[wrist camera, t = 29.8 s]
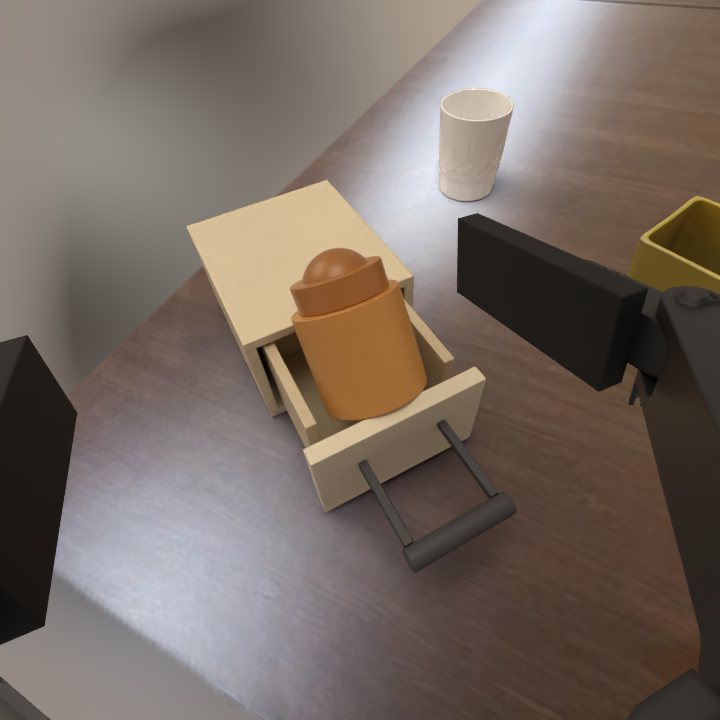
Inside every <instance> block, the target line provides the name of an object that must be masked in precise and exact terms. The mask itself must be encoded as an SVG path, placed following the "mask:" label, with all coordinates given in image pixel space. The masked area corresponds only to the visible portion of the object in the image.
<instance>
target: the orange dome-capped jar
mask: <svg viewBox="0 0 720 720" xmlns="http://www.w3.org/2000/svg"><path fill="white" fill-rule="evenodd" d="M290 291H291V294H292V297H293V299H294V302H295V304H296V307H297V310H298V311H296V312H295V313H294V314H293V315H292V316H291V321H292V324H293V326H294V329H295V331H296V334H297V336H298V339H299V342H300V344H301V347H302V349H303V352H304V355H305V357H306V360H307V362H308V365H309V367H310V370H311V373H312V375H313V378H314V380H315V383H316V385H317V388H318V391H319V393H320V396H321V398H322V401H323V404H324V406H325V409H326V411H327V413H328V414H329V415H330V416H331V417H333V418H335V419H339V420H361V419H367V418H372V417H375V416H379V415H382V414H385V413H388V412H390V411H393V410H395V409H397V408H399V407H401V406H403V405H405V404H407V403H408V402H410V401H411V400H413V399H414V398H415V397H417V396H418V395H419V394H420V393H421V392H422V391H423V389H424V388H425V386H426V384H427V375H426V372H425V369H424V365H423V362H422V359H421V355H420V352H419V348H418V345H417V342H416V338H415V335H414V332H413V328H412V325H411V322H410V318H409V315H408V312H407V308H406V305H405V302H404V298H403V295H402V292H401V288H400V285H399V282H398V281H397V280H392V279H388V278H387V275H386V272H385V269H384V265H383V262H382V259H381V257H380V256H371V257H366V258H365V257H364V256H362V255H361V254H359V253H358V252H356V251H353V250H350V249H347V248H333V249H329V250H326V251H323V252H322V253H320V254H318V255H317V256H316V257H314V258H313V259H312V260H311V262H310V263H309V264H308V266H307V268H306V269H305V272H304V274H303V278H302V280H300V281H298V282H296V283H295V284H293V285H292V286H291V287H290Z"/></svg>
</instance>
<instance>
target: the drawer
mask: <svg viewBox="0 0 720 720" xmlns="http://www.w3.org/2000/svg"><path fill="white" fill-rule="evenodd" d="M404 302H405V305H406V308H407V312H408V315H409V318H410V322H411V325H412V328H413V332H414V335H415V338H416V342H417V345H418V348H419V352H420V355H421V359H422V362H423V365H424V369H425V372H426V375H427V384H426V386H425V388H424V389H423V391H422V392H421V393H420V394H419V395H418V396H417V397H415V398H414V399H413V400H411V401H410V402H408V403H407V404H405V405H403V406H401V407H399V408H397V409H395V410H393V411H390V412H388V413H385V414H382V415H379V416H375V417H372V418H367V419H361V420H339V419H335V418H333V417H331V416H330V415H329V414H328V413H327V411H326V409H325V406H324V404H323V401H322V398H321V396H320V393H319V391H318V388H317V385H316V383H315V380H314V378H313V375H312V373H311V370H310V367H309V365H308V362H307V360H306V357H305V355H304V352H303V349H302V347H301V344H300V342H299V339H298V336H297V334H296V332H294V333H292V334H289V335H287V336H284V337H282V338H280V339H277V340H275V341H272V342H270V343H267V344H265V345H263V346H260V347H258V349H259V352H260V354H261V357H262V360H263V362H264V365H265V367H266V369H267V371H268V373H269V375H270V377H271V379H272V381H273V383H274V385H275V387H276V389H277V391H278V394H279V396H280V398H281V400H282V402H283V404H284V406H285V408H286V410H287V412H288V414H289V416H290V418H291V420H292V422H293V424H294V426H295V428H296V430H297V432H298V434H299V436H300V438H301V440H302V442H303V444H304V446H305V449H303V452H304V455H305V458H306V461H307V464H308V467H309V470H310V473H311V476H312V479H313V482H314V485H315V488H316V491H317V493H318V496H319V499H320V501H321V503H322V506H323V508H324V510H325V512H328V511H330V510H332V509H333V508H335V507H337V506H339V505H341V504H343V503H345V502H347V501H349V500H350V499H352V498H354V497H356V496H358V495H360V494H362V493H364V492H366V491H368V490H369V489H371V490H372V492H373V494H374V495H375V497H376V499H377V501H378V502H379V504H380V506H381V508H382V510H383V511H384V513H385V515H386V517H387V519H388V520H389V522H390V524H391V526H392V527H393V529H394V531H395V533H396V535H397V536H398V538H399V540H400V542H401V544H402V545H403V547H404V548H403V550H402V551H403V555H404V557H405V560H406V562H407V564H408V565H409V567H410V569H411V570H412V571H413V572H414V573H416V572H418V571H420V570H421V569H423V568H425V567H426V566H428V565H430V564H431V563H433V562H435V561H437V560H438V559H440V558H442V557H443V556H445V555H447V554H448V553H450V552H452V551H453V550H455V549H457V548H458V547H460V546H462V545H463V544H465V543H467V542H468V541H470V540H472V539H474V538H475V537H477V536H479V535H480V534H482V533H484V532H485V531H487V530H489V529H490V528H492V527H494V526H495V525H497V524H499V523H500V522H502V521H504V520H506V519H507V518H509V517H511V516H512V515H514V514H515V513H516V507H515V505H514V503H513V501H512V500H511V498H510V497H509V496H508V495H507V494H506V493H504V492H501V493H499V491H498V490H497V489H496V487H495V486H494V485H493V483H492V482H491V481H490V479H489V478H488V477H487V475H486V474H485V473H484V471H483V470H482V469H481V467H480V466H479V465H478V463H477V462H476V461H475V459H474V458H473V457H472V455H471V454H470V453H469V451H468V450H467V449H466V447H465V446H464V444H463V443H462V442H461V441H463V440H464V439H466V438H468V437H470V434H471V431H472V427H473V424H474V420H475V417H476V413H477V410H478V406H479V403H480V399H481V396H482V392H483V388H484V385H485V381H486V378H485V377H484V376H483V375H482V373H481V372H480V371H479V370H478V369H477V368H476V367H473V368H471V369H469V370H467V371H465V372H463V373H460V374H458V375H456V376H454V377H452V378H451V374H452V369H453V363H454V357H453V356H452V355H451V354H450V353H449V351H448V350H447V349H446V348H445V347H444V346H443V344H442V343H441V342H440V341H439V340H438V338H437V337H436V336H435V335H434V334H433V333H432V331H431V330H430V329H429V328H428V327H427V325H426V324H425V323H424V322H423V321H422V319H421V318H420V317H419V316H418V315H417V314H416V312H415V311H414V310H413V309H412V308H411V306H410V305H409V304H408V303H407V302H406V301H405V299H404ZM449 447H452V448H453V450H454V451H455V452H456V454H457V455H458V457H459V458H460V459H461V461H462V462H463V464H464V465H465V466H466V468H467V469H468V470H469V472H470V473H471V475H472V476H473V477H474V479H475V480H476V482H477V483H478V484H479V486H480V487H481V488H482V490H483V491H484V493H485V494H486V495H487V497H488V498H489V500H487V501H485V502H484V503H482V504H480V505H478V506H477V507H475V508H473V509H471V510H470V511H468V512H466V513H464V514H463V515H461V516H459V517H457V518H456V519H454V520H452V521H450V522H449V523H447V524H445V525H443V526H442V527H440V528H438V529H437V530H435V531H433V532H431V533H430V534H428V535H426V536H424V537H423V538H421V539H419V540H417V541H416V542H414V543H413V539H412V538H411V536H410V534H409V532H408V531H407V529H406V527H405V525H404V524H403V522H402V520H401V519H400V517H399V515H398V513H397V512H396V510H395V508H394V506H393V505H392V503H391V501H390V500H389V498H388V496H387V494H386V493H385V491H384V489H383V487H382V486H381V483H383V482H385V481H387V480H388V479H390V478H392V477H394V476H396V475H398V474H400V473H402V472H404V471H406V470H407V469H409V468H411V467H413V466H415V465H417V464H419V463H421V462H423V461H425V460H426V459H428V458H430V457H432V456H434V455H436V454H438V453H440V452H442V451H444V450H445V449H447V448H449ZM498 493H499V494H498Z"/></svg>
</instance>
